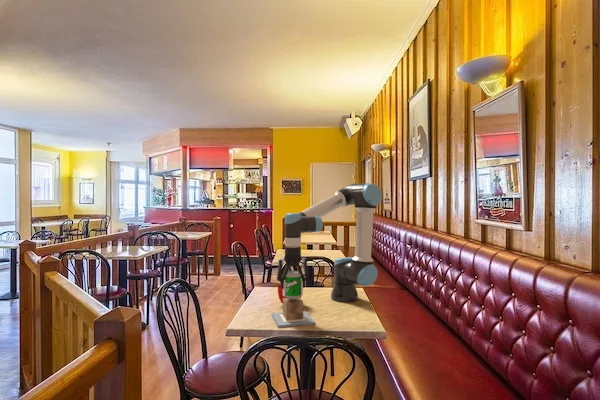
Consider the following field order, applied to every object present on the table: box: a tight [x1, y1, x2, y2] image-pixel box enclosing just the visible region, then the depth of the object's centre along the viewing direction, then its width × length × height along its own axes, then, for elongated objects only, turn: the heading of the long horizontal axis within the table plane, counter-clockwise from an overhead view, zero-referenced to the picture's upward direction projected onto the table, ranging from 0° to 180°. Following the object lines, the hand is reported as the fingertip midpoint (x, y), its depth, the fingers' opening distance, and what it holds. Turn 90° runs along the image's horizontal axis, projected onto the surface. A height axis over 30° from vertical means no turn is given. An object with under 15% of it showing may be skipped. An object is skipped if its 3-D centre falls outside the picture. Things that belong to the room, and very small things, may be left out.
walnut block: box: [282, 298, 304, 321], centre depth 171 cm, size 8×8×8 cm
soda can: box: [284, 270, 302, 299], centre depth 171 cm, size 8×8×12 cm
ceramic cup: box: [277, 284, 302, 305], centre depth 195 cm, size 13×17×10 cm
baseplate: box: [271, 310, 316, 329], centre depth 171 cm, size 17×17×1 cm
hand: (292, 295), depth 171 cm, fingers closed on soda can, 7 cm apart
